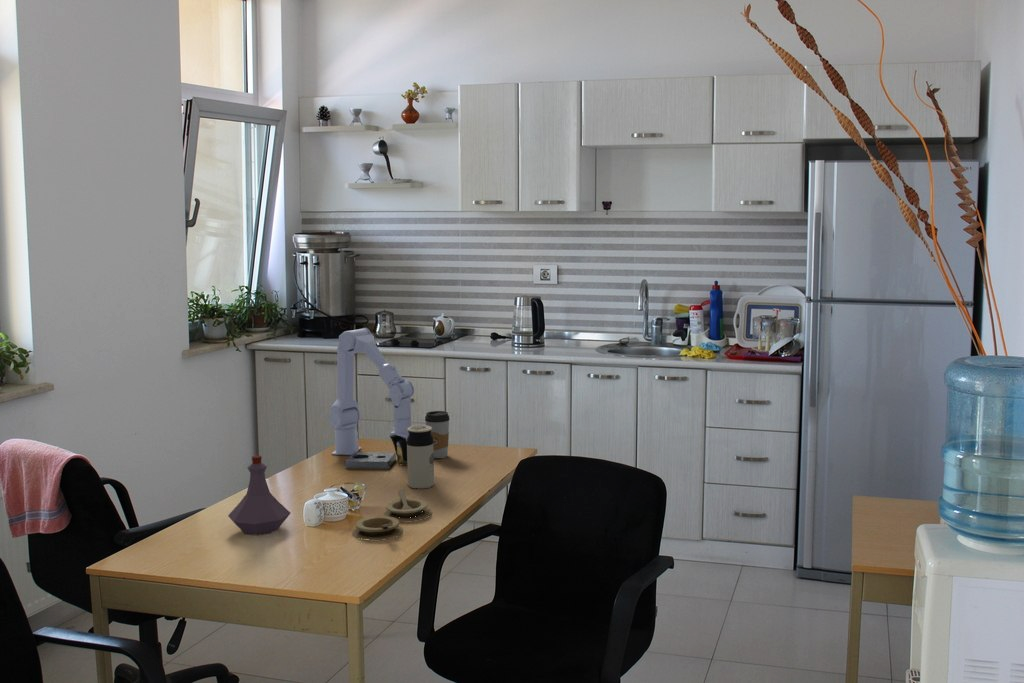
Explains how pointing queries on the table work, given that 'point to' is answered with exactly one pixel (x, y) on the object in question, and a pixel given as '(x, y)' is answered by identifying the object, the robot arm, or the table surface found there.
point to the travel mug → (420, 457)
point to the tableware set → (391, 519)
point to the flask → (258, 505)
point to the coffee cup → (439, 431)
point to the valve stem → (400, 455)
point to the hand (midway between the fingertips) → (403, 458)
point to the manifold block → (370, 460)
